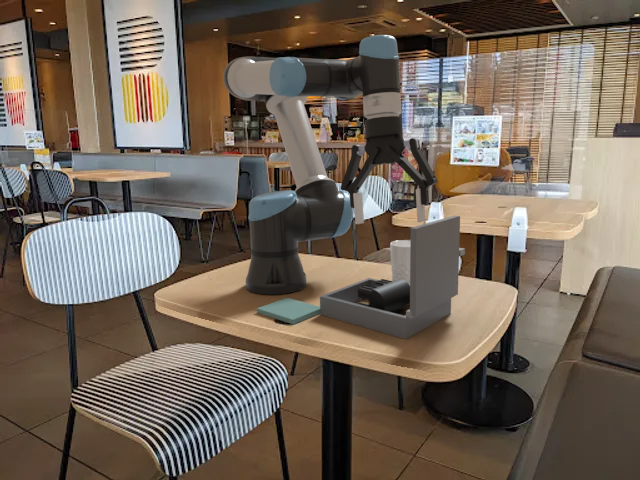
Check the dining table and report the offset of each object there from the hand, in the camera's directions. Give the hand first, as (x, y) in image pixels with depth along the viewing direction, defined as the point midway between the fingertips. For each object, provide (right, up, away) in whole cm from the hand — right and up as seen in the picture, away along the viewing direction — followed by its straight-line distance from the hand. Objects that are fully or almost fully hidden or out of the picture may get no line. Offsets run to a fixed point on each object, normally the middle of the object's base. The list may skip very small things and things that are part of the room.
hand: (389, 222), depth 104 cm
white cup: (+7, -14, +23) cm, 28 cm away
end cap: (-1, -19, +1) cm, 19 cm away
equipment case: (+1, -19, +1) cm, 19 cm away
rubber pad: (-21, -19, +4) cm, 28 cm away
